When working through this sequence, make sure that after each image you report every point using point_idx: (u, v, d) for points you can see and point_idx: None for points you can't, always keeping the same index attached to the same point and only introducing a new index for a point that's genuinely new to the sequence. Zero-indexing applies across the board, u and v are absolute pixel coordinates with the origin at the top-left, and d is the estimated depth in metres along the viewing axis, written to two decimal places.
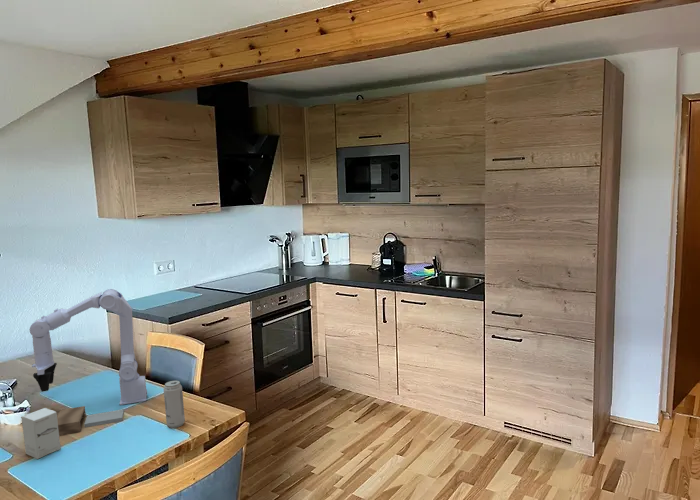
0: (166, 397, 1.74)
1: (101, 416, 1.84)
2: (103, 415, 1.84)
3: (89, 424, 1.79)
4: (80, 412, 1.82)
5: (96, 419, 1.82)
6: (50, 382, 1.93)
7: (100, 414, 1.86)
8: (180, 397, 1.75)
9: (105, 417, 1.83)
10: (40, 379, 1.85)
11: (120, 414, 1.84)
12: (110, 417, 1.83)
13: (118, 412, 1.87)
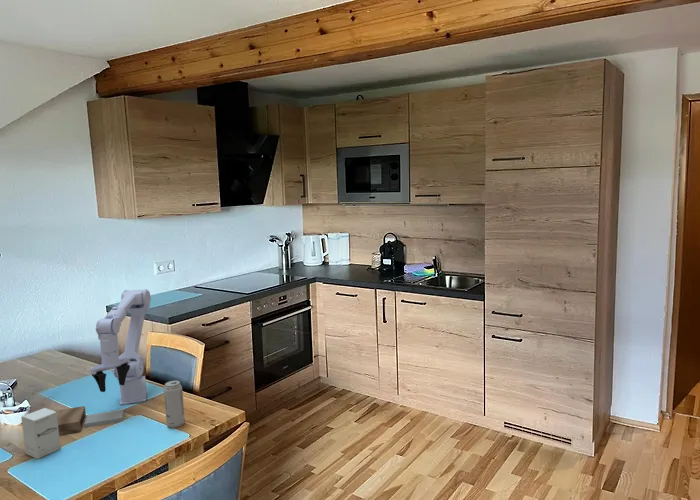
0: (166, 397, 1.74)
1: (101, 416, 1.84)
2: (103, 415, 1.84)
3: (89, 424, 1.79)
4: (80, 412, 1.82)
5: (96, 419, 1.82)
6: (121, 384, 1.89)
7: (100, 414, 1.86)
8: (180, 397, 1.75)
9: (105, 417, 1.83)
10: (98, 378, 1.82)
11: (120, 414, 1.84)
12: (110, 417, 1.83)
13: (118, 412, 1.87)
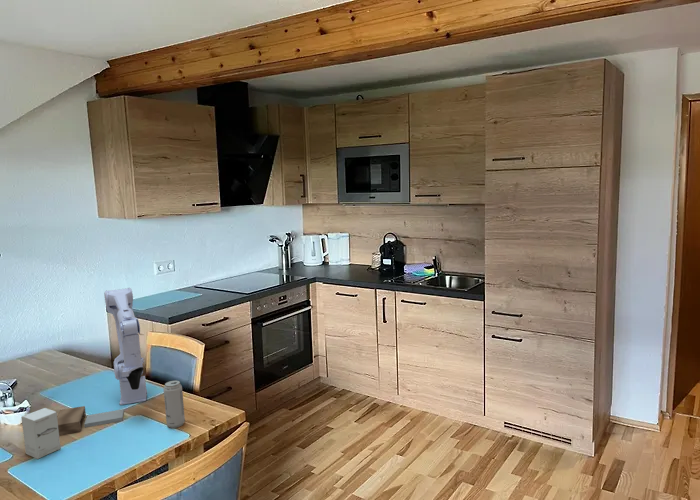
0: (166, 397, 1.74)
1: (101, 416, 1.84)
2: (103, 415, 1.84)
3: (89, 424, 1.79)
4: (80, 412, 1.82)
5: (96, 419, 1.82)
6: None
7: (100, 414, 1.86)
8: (180, 397, 1.75)
9: (105, 417, 1.83)
10: (130, 377, 1.85)
11: (120, 414, 1.85)
12: (110, 417, 1.83)
13: (118, 412, 1.87)
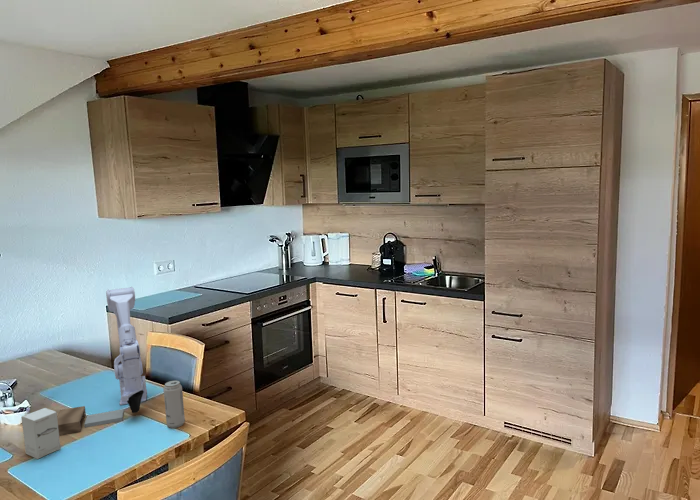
0: (166, 397, 1.74)
1: (101, 416, 1.84)
2: (103, 415, 1.84)
3: (89, 424, 1.79)
4: (80, 412, 1.82)
5: (96, 419, 1.82)
6: None
7: (100, 414, 1.86)
8: (180, 397, 1.75)
9: (105, 417, 1.83)
10: (130, 400, 1.86)
11: (120, 414, 1.85)
12: (110, 417, 1.83)
13: (118, 412, 1.87)
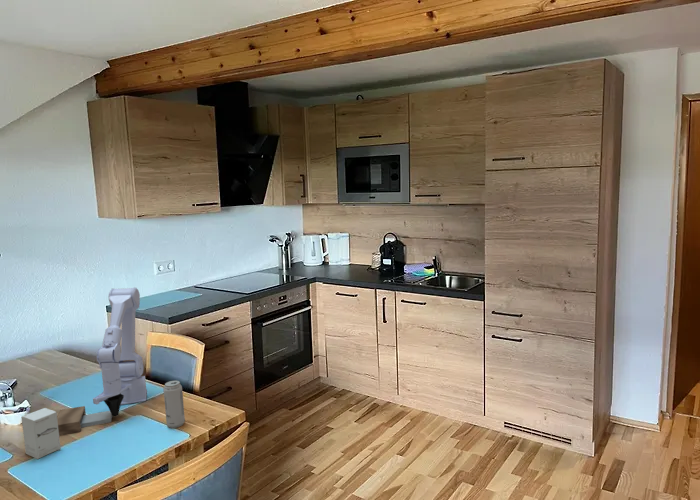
0: (166, 397, 1.74)
1: (90, 417, 1.83)
2: (92, 416, 1.84)
3: None
4: (80, 412, 1.82)
5: (85, 420, 1.81)
6: None
7: (89, 415, 1.85)
8: (180, 397, 1.75)
9: (94, 418, 1.83)
10: (110, 403, 1.84)
11: (109, 415, 1.84)
12: (99, 418, 1.82)
13: (107, 413, 1.86)
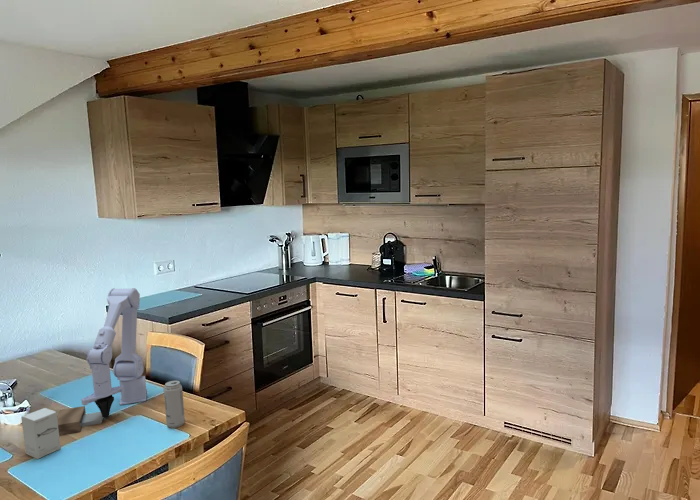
0: (166, 397, 1.74)
1: None
2: (83, 417, 1.83)
3: None
4: (80, 412, 1.82)
5: None
6: None
7: None
8: (180, 397, 1.75)
9: (85, 419, 1.82)
10: None
11: (100, 417, 1.83)
12: (90, 419, 1.82)
13: (98, 414, 1.86)
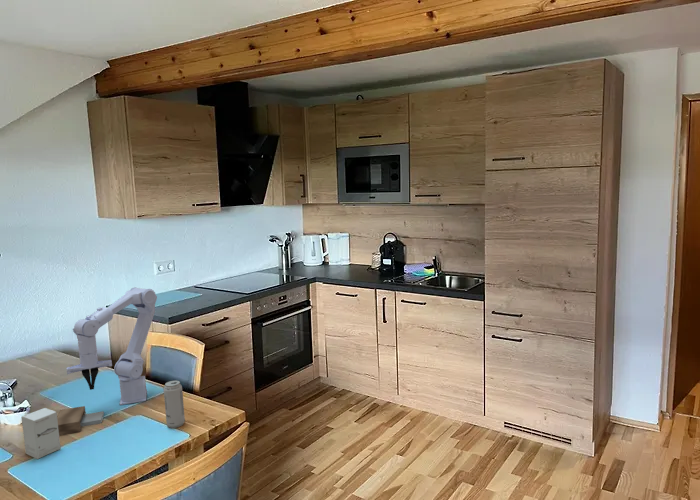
0: (166, 397, 1.74)
1: None
2: (83, 417, 1.83)
3: None
4: (80, 412, 1.82)
5: None
6: None
7: None
8: (180, 397, 1.75)
9: (85, 419, 1.82)
10: None
11: (100, 416, 1.83)
12: (90, 419, 1.82)
13: (98, 414, 1.86)
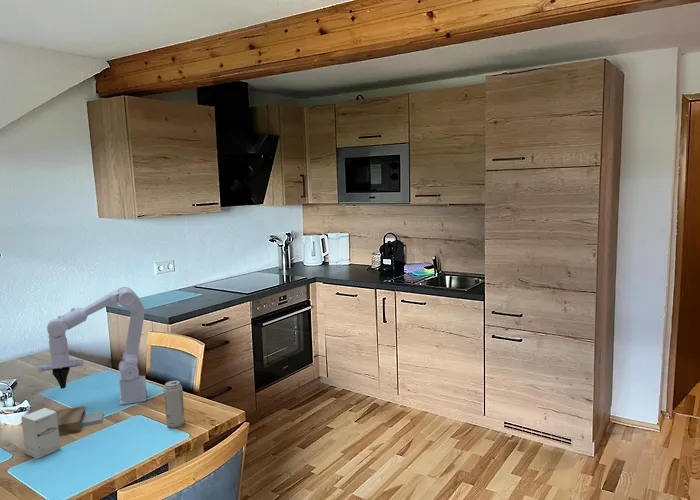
0: (166, 397, 1.74)
1: None
2: (83, 417, 1.83)
3: None
4: (80, 412, 1.82)
5: None
6: None
7: None
8: (180, 397, 1.75)
9: (85, 419, 1.82)
10: None
11: (100, 416, 1.83)
12: (90, 419, 1.82)
13: (98, 414, 1.86)
